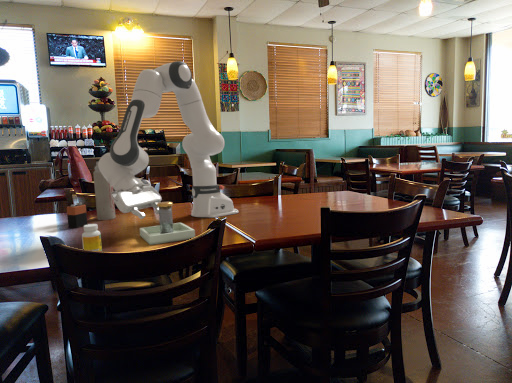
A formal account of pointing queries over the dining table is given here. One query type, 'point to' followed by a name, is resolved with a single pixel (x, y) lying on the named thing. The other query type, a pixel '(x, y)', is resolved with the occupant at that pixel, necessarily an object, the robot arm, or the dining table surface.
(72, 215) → the battery
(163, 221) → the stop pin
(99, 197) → the thermos bottle
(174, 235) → the tray
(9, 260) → the dining table surface
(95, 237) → the supplement bottle
